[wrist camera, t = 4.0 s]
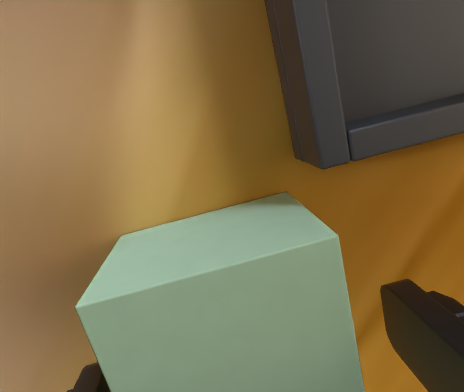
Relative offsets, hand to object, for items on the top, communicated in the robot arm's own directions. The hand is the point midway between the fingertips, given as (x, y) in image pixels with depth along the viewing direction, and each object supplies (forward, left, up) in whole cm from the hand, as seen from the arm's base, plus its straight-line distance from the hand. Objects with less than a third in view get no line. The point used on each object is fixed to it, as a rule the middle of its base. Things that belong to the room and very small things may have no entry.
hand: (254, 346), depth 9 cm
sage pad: (0, 0, -2) cm, 2 cm away
